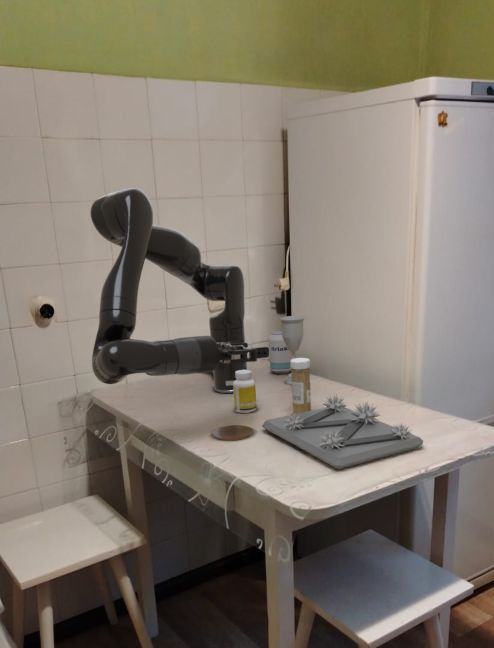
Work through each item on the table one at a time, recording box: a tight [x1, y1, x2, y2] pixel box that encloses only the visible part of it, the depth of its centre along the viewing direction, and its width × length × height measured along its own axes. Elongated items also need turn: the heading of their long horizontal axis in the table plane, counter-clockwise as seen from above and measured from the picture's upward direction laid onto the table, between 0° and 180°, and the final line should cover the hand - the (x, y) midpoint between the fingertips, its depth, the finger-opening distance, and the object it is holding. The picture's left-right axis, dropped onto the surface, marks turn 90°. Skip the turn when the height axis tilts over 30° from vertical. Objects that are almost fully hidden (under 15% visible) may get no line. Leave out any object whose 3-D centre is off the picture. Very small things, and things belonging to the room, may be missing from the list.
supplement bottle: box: [233, 369, 258, 414], centre depth 156 cm, size 5×5×10 cm
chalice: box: [279, 315, 306, 385], centre depth 179 cm, size 7×7×18 cm
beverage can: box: [268, 330, 292, 375], centre depth 192 cm, size 7×7×12 cm
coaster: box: [212, 424, 254, 442], centre depth 142 cm, size 9×9×1 cm
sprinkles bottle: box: [290, 357, 312, 415], centre depth 150 cm, size 5×5×14 cm
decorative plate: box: [261, 393, 424, 470], centre depth 134 cm, size 30×22×7 cm
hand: (257, 349), depth 140 cm, fingers open, 8 cm apart
